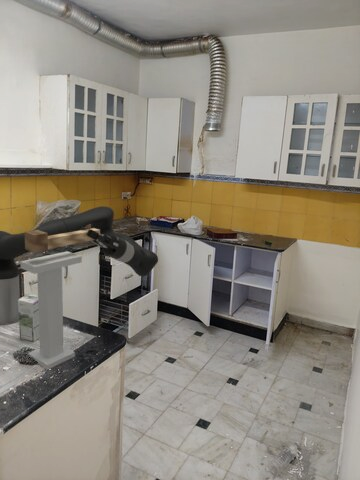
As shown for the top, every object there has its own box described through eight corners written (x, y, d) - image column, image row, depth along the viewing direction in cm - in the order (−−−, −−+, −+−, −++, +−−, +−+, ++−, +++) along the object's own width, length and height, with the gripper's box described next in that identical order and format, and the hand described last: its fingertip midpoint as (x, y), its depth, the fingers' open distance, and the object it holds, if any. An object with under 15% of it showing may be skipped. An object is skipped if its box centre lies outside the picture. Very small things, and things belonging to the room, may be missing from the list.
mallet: (91, 236, 126) (91, 221, 125) (102, 239, 124) (102, 224, 122) (25, 249, 108) (24, 231, 107) (35, 252, 105) (34, 235, 104)
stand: (66, 341, 129) (64, 250, 122) (85, 351, 124) (84, 257, 116) (22, 359, 117) (17, 260, 109) (41, 372, 111) (37, 268, 104)
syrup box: (44, 334, 133) (43, 295, 129) (33, 342, 127) (32, 302, 124) (30, 331, 134) (28, 293, 131) (19, 339, 129) (17, 299, 125)
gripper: (129, 263, 129) (94, 246, 116) (101, 254, 138) (66, 237, 124) (137, 243, 131) (104, 224, 117) (109, 235, 139) (75, 216, 125)
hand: (84, 231), depth 121 cm, fingers closed on mallet, 3 cm apart
